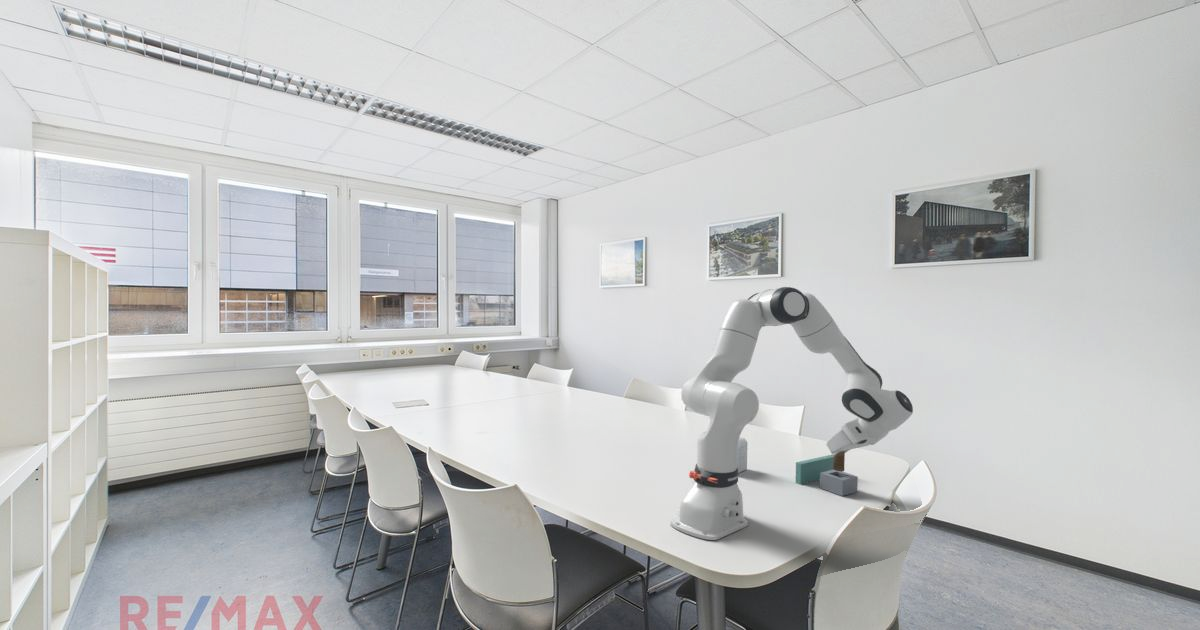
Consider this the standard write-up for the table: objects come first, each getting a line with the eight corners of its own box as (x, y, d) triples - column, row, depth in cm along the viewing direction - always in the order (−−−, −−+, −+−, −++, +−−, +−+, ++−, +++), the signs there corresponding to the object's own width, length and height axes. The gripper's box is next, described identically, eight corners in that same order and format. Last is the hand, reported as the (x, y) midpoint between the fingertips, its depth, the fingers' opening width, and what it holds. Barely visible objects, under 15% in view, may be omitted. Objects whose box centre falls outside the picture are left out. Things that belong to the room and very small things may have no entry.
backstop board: (837, 475, 170) (837, 456, 170) (800, 484, 160) (800, 464, 160) (832, 473, 172) (832, 454, 172) (795, 482, 162) (795, 462, 162)
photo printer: (738, 466, 178) (738, 434, 178) (748, 469, 175) (749, 436, 175) (723, 473, 171) (724, 439, 171) (734, 476, 168) (734, 441, 167)
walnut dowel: (842, 472, 153) (843, 441, 153) (832, 469, 155) (832, 439, 155) (845, 469, 156) (846, 439, 156) (834, 467, 158) (835, 437, 158)
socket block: (857, 491, 154) (857, 476, 154) (842, 496, 150) (842, 480, 150) (834, 483, 161) (835, 469, 161) (819, 487, 157) (820, 472, 157)
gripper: (879, 417, 155) (850, 440, 163) (840, 424, 145) (811, 447, 153) (892, 434, 151) (862, 456, 159) (854, 442, 141) (824, 465, 149)
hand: (837, 452), depth 156 cm, fingers closed on walnut dowel, 3 cm apart
